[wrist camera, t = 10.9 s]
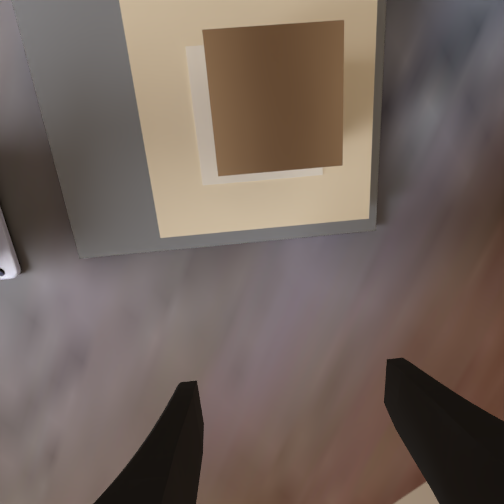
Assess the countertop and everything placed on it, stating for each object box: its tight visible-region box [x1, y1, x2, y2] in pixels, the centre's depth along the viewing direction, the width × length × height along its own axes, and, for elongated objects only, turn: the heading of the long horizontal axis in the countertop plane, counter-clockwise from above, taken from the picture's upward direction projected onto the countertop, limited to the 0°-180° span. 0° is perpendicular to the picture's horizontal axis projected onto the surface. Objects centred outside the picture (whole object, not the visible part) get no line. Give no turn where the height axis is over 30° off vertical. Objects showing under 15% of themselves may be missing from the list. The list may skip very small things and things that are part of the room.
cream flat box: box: [11, 0, 386, 259], centre depth 17 cm, size 18×14×4 cm
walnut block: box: [202, 20, 344, 176], centre depth 13 cm, size 4×4×6 cm
